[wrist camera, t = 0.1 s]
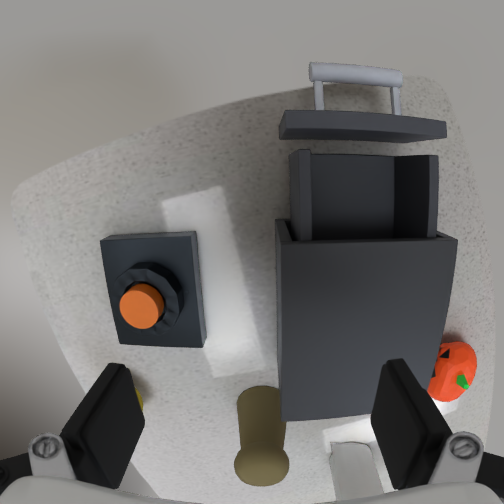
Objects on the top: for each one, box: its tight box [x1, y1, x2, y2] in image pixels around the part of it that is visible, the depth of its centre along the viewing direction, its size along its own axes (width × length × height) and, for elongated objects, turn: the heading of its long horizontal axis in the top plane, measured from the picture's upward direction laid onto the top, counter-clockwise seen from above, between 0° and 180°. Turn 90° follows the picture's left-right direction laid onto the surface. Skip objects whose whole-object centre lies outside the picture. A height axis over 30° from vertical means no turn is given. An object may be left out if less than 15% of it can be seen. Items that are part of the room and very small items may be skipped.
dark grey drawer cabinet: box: [275, 219, 458, 422], centre depth 25 cm, size 15×13×10 cm
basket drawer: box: [279, 62, 447, 241], centre depth 23 cm, size 18×11×8 cm, turn 2°
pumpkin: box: [427, 341, 477, 402], centre depth 29 cm, size 7×8×6 cm
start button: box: [120, 284, 164, 329], centre depth 26 cm, size 4×4×2 cm
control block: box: [100, 231, 206, 348], centre depth 29 cm, size 11×9×4 cm
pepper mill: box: [234, 386, 289, 486], centre depth 29 cm, size 6×6×11 cm
